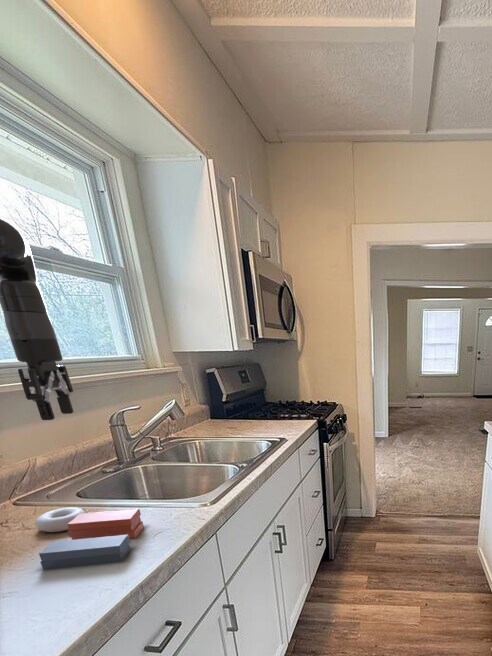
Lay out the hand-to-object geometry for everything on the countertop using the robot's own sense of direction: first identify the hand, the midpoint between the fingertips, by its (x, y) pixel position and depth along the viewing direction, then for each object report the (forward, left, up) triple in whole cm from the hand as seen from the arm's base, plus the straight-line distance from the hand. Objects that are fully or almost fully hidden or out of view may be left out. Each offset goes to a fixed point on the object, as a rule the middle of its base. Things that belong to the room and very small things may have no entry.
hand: (58, 416), depth 89 cm
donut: (-6, 0, -26) cm, 27 cm away
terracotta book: (+7, -9, -23) cm, 25 cm away
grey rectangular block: (+7, -20, -26) cm, 34 cm away
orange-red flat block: (+7, -9, -26) cm, 28 cm away
